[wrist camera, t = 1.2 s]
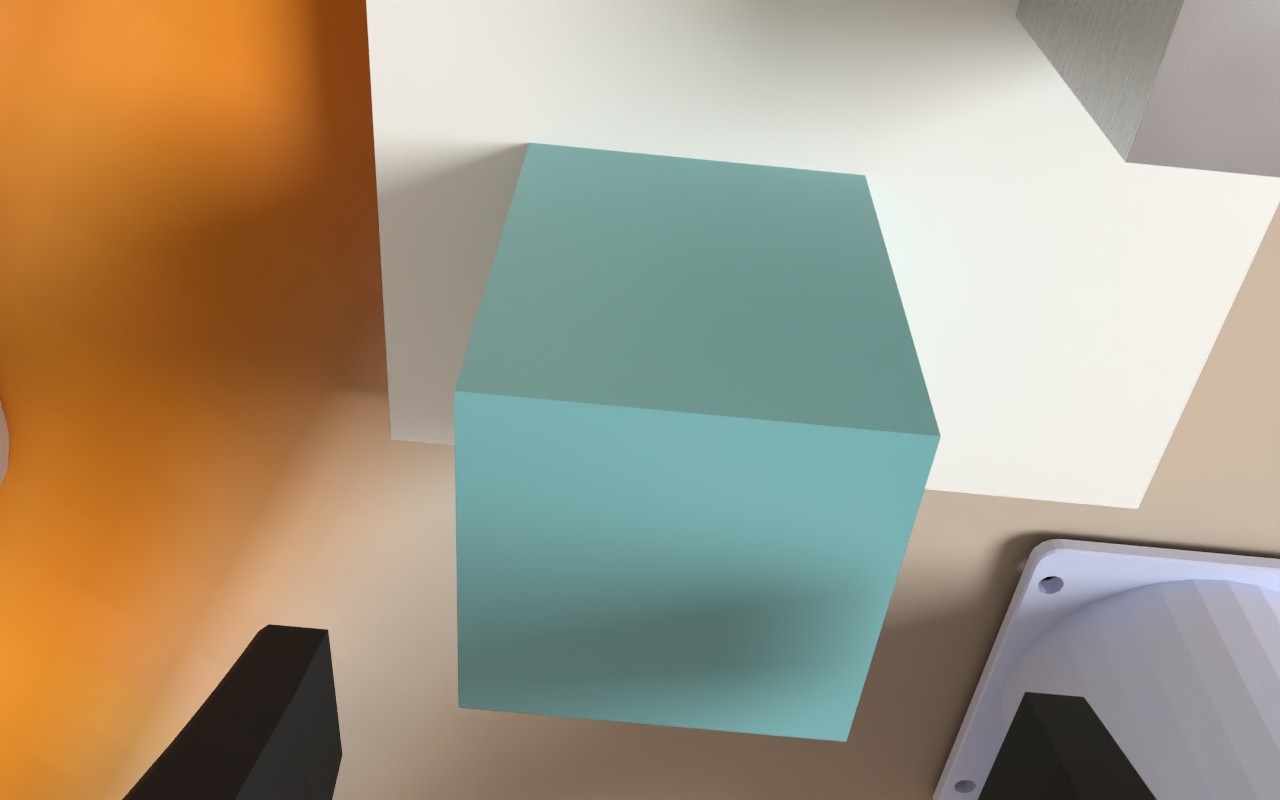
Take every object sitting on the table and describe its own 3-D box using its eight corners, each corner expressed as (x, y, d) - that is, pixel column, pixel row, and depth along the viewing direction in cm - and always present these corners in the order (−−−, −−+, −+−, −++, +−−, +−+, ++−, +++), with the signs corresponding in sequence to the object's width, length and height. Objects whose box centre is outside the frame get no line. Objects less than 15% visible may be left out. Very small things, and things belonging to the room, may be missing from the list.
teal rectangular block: (806, 439, 20) (846, 741, 15) (521, 412, 20) (458, 707, 15) (865, 175, 17) (940, 436, 12) (529, 142, 17) (454, 391, 12)
